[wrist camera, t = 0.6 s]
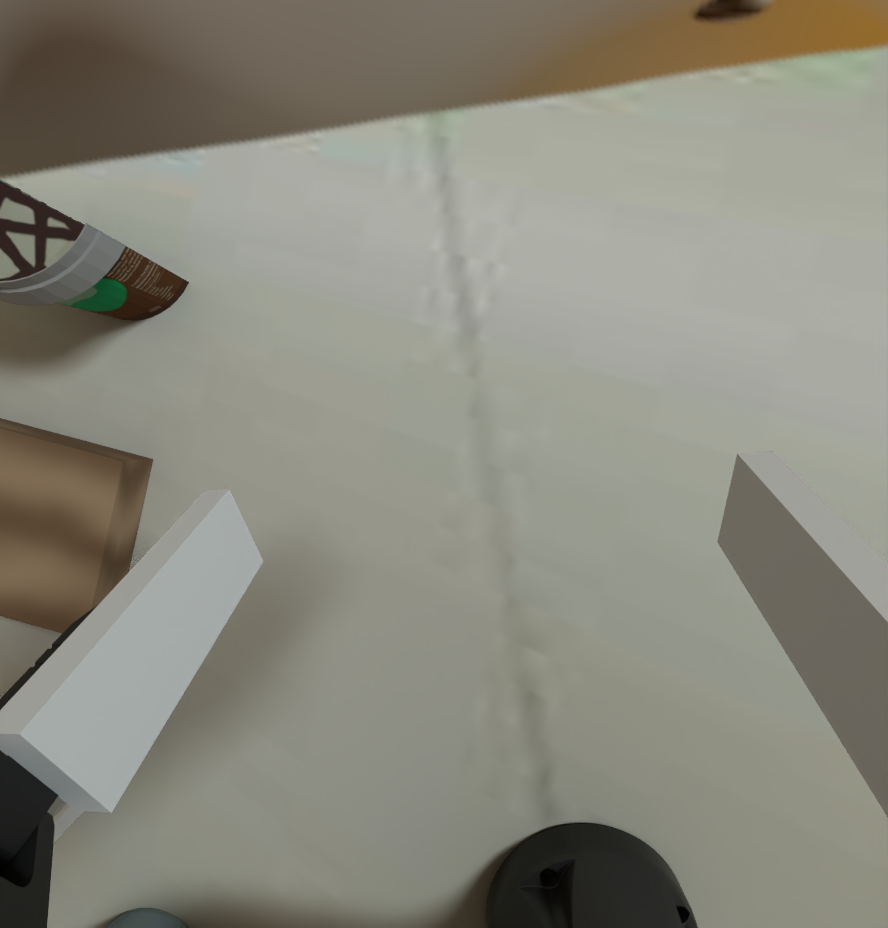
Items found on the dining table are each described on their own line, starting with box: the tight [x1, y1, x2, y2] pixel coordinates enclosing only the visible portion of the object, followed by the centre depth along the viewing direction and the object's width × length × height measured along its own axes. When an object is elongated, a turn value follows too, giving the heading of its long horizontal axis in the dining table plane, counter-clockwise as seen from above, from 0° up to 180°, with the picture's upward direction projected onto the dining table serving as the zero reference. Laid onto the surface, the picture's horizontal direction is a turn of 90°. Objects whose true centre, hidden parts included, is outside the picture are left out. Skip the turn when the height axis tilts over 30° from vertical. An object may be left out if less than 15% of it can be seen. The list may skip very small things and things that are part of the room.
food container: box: [0, 179, 189, 320], centre depth 28 cm, size 12×6×10 cm, turn 62°
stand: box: [0, 418, 153, 633], centre depth 33 cm, size 13×17×3 cm
